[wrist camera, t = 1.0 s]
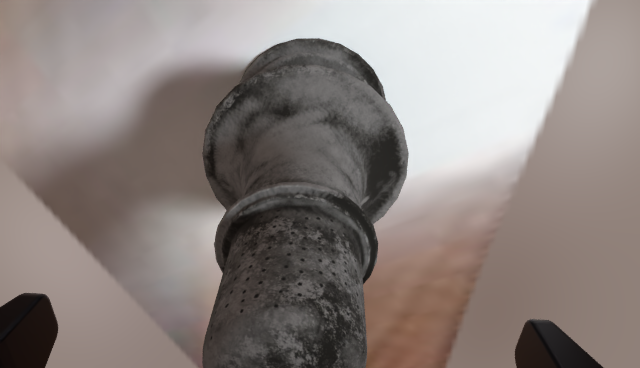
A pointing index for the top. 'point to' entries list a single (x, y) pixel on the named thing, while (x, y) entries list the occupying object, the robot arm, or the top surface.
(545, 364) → the robot arm
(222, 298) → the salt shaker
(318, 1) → the top surface
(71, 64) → the top surface
